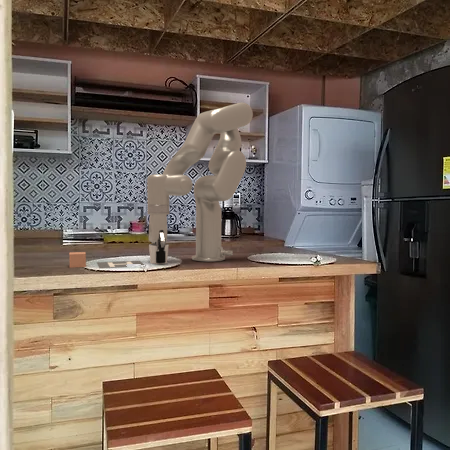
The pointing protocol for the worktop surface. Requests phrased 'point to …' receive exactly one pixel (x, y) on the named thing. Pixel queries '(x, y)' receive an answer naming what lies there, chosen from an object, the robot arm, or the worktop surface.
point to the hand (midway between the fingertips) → (158, 261)
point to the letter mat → (117, 264)
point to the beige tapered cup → (153, 253)
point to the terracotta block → (77, 259)
